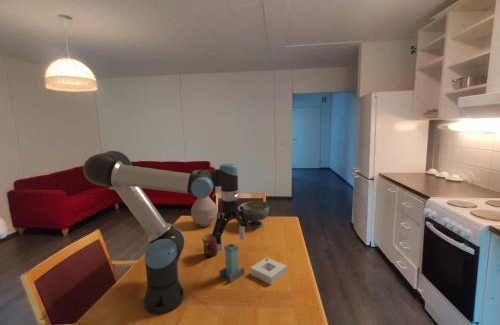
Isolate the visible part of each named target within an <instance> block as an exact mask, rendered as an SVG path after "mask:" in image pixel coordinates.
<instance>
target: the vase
mask: <svg viewBox="0 0 500 325" xmlns="http://www.w3.org/2000/svg"><path fill="white" fill-rule="evenodd" d="M190 211H191V212H190V213H191V215H190V216H191V219H192V220H193V222H194V223H195V224H198V225H200V226H201V227H208V226H210V224H212V223H213V222H216V220H217V213H218V207H217V204H216V203H215V202H214V201H213V200H212V198H211V197H210V195H209V196H207V197H205V198H198V197H197V199H196V200H195V202H193V204H192V205H191V210H190Z"/></svg>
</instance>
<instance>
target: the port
mask: <svg viewBox="0 0 500 325" xmlns="http://www.w3.org/2000/svg"><path fill="white" fill-rule="evenodd" d="M249 270H250V273H249V274H250V276H252V277H255V278H257V279H259V280H261V281H263V282H265V283H267V284H269V285H274V284H275V283H276V282H277V281H278V280H279V279H281V278H282V277H284V276H285V275H286V274H287V273H288V265H286V264H284V263H281V262H279V261H276V260H274V259H272V258H270V257H265V258H263V259H262V260H260V261H258V262H257V263H255V264H253V265H252V266H250V268H249Z"/></svg>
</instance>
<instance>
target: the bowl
mask: <svg viewBox="0 0 500 325" xmlns="http://www.w3.org/2000/svg"><path fill="white" fill-rule="evenodd" d="M239 206H242V207H243V211H244V213H245V215H246V217H247V220H248V223H247V226H248V227H249V228H252V229H259V228H262V227H263V226H264V224H263V222H261V221H263V220H265V219H266V218H267V217H268V215H269V213H270V212H269V211H270V208H269V207H270V206H269V203H268V202H266V201H263V200H251V201H246V202H244V203H241V204H240V205H239Z"/></svg>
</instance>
